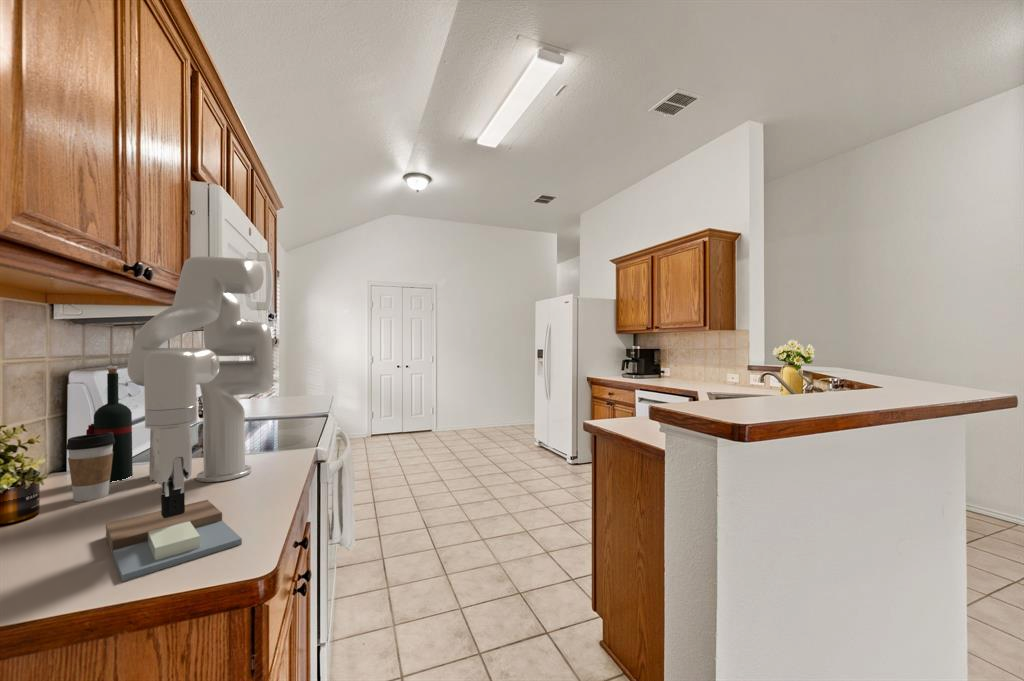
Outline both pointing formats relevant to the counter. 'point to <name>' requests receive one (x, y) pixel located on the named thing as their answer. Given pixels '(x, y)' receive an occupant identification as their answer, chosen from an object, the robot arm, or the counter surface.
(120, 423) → the wine bottle
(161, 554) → the sage tile
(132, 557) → the slate mat
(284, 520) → the counter surface
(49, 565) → the counter surface
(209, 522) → the walnut deck
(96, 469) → the coffee cup
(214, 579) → the counter surface
